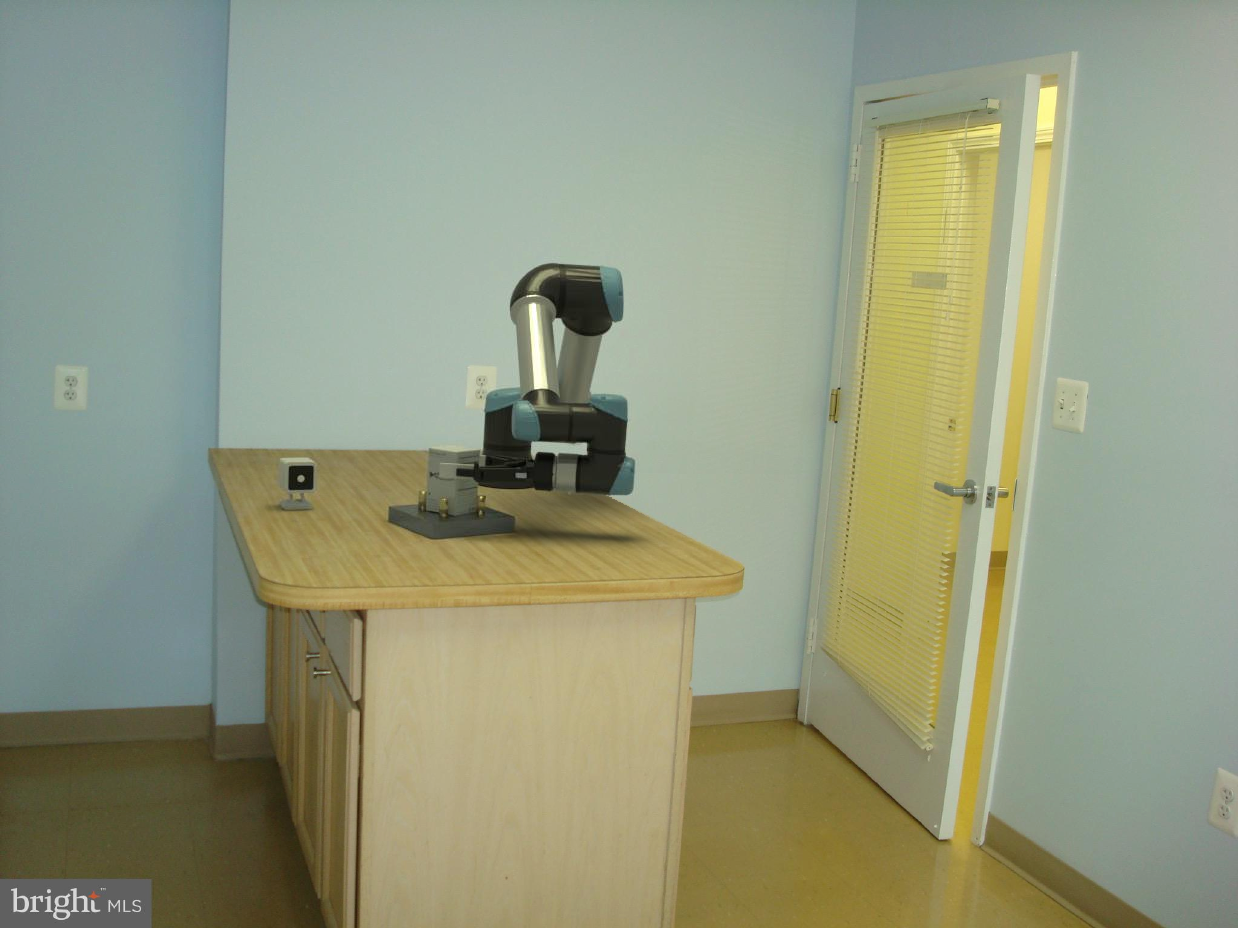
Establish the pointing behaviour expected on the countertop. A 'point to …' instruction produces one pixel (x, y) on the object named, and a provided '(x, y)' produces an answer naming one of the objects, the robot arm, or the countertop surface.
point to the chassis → (450, 519)
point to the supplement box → (451, 480)
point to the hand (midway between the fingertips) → (446, 465)
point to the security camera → (297, 481)
